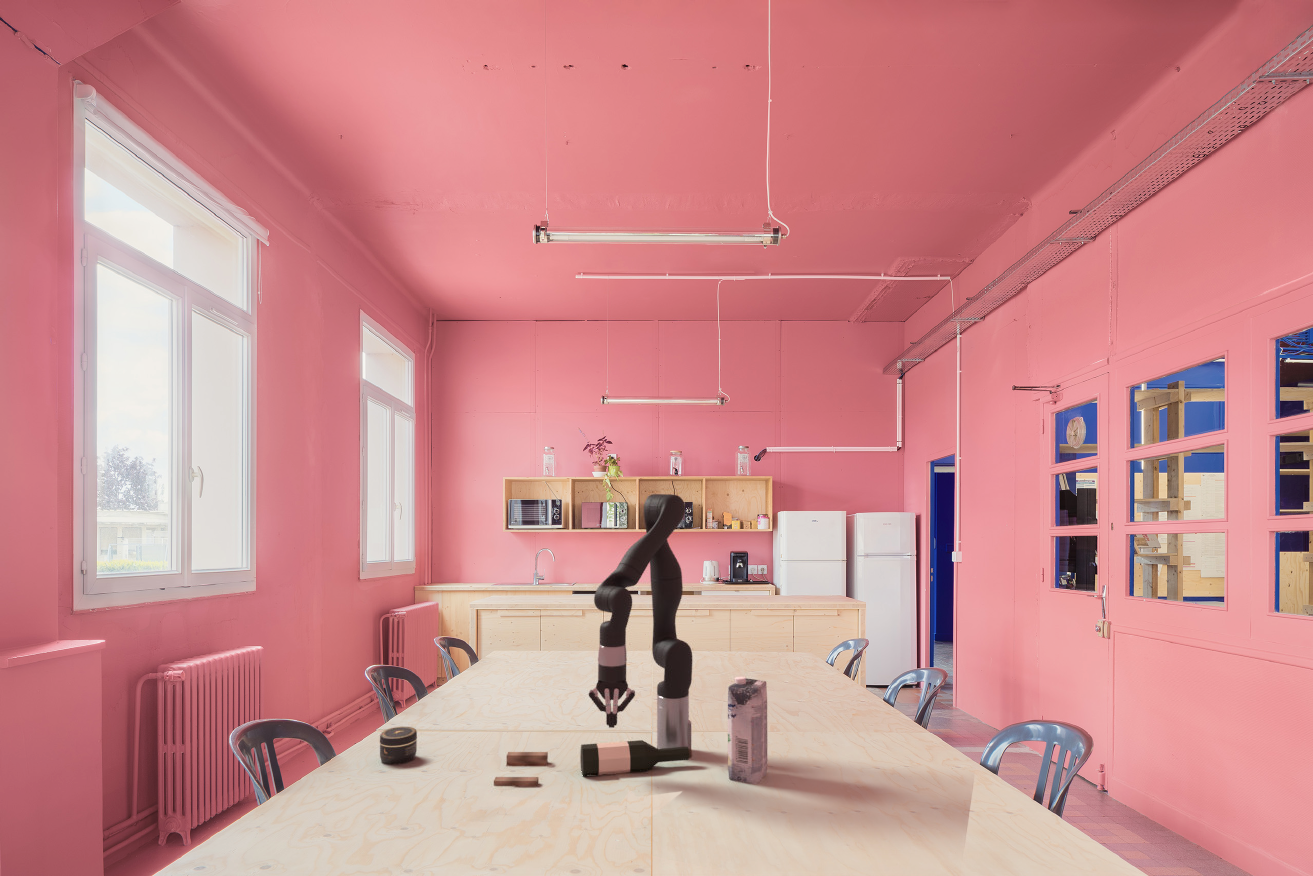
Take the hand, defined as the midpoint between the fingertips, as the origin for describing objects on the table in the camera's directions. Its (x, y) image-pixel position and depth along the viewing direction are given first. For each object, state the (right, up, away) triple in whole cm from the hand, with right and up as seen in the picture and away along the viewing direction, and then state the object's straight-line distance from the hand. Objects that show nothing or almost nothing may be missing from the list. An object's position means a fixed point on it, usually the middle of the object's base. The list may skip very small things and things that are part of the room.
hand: (611, 726), depth 201 cm
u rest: (-24, -13, 0) cm, 27 cm away
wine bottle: (-8, -10, 0) cm, 13 cm away
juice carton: (+36, -14, -3) cm, 39 cm away
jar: (-61, -14, +12) cm, 64 cm away
